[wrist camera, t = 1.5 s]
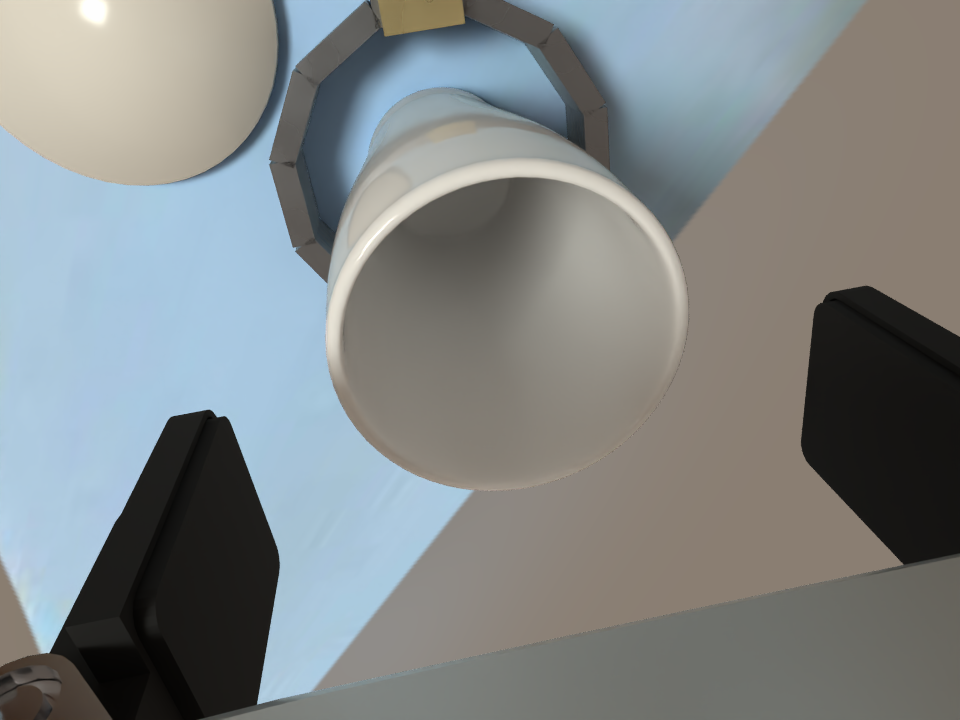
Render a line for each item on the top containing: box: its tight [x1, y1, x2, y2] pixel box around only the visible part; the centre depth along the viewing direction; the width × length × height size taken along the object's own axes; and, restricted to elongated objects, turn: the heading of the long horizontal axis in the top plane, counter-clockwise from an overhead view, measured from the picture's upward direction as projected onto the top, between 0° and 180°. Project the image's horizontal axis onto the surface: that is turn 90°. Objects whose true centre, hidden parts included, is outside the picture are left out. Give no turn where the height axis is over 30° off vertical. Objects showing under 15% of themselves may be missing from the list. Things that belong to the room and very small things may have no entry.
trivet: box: [0, 0, 279, 185], centre depth 22 cm, size 10×10×1 cm
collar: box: [269, 0, 610, 283], centre depth 24 cm, size 12×11×3 cm
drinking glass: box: [325, 87, 689, 491], centre depth 19 cm, size 7×7×15 cm
